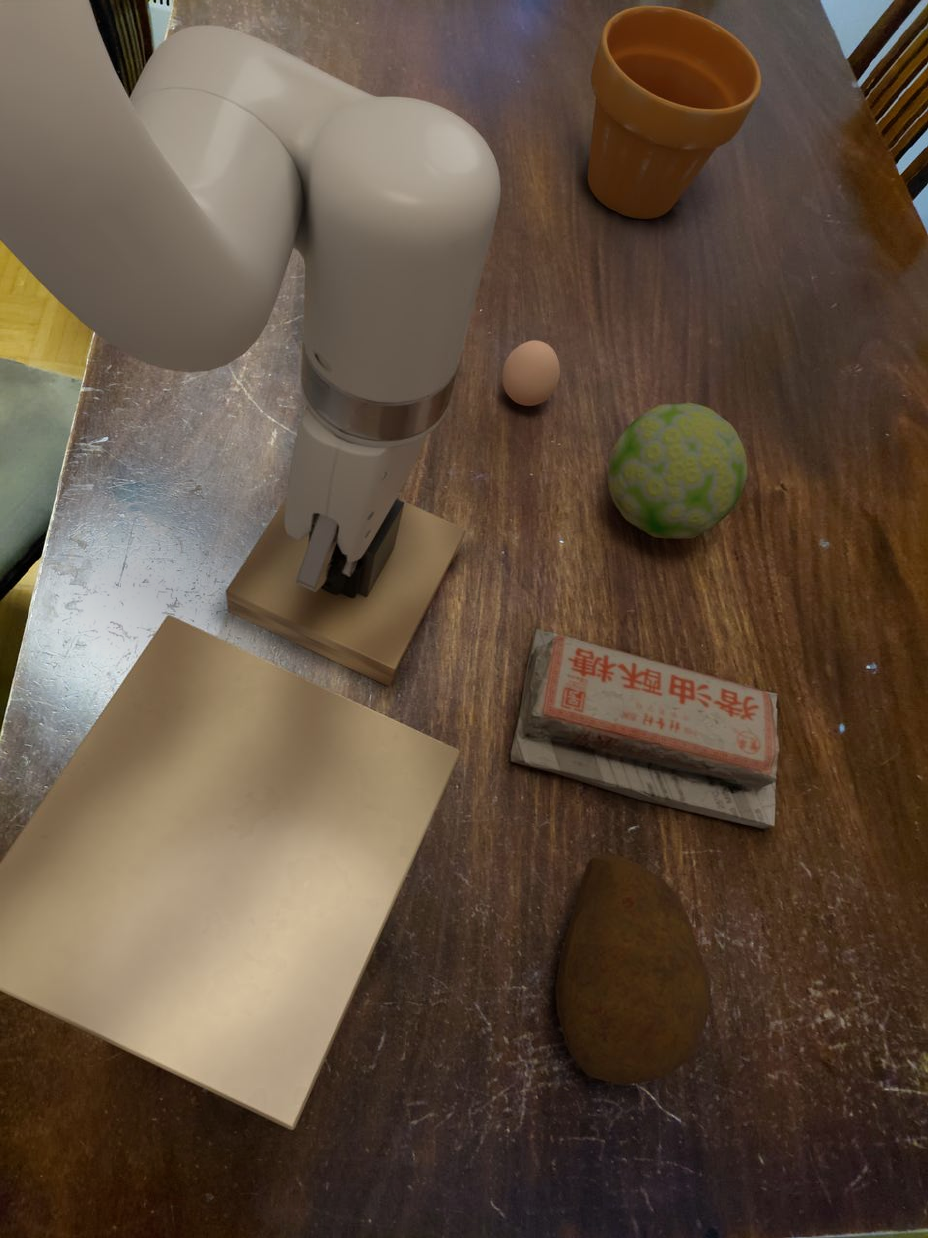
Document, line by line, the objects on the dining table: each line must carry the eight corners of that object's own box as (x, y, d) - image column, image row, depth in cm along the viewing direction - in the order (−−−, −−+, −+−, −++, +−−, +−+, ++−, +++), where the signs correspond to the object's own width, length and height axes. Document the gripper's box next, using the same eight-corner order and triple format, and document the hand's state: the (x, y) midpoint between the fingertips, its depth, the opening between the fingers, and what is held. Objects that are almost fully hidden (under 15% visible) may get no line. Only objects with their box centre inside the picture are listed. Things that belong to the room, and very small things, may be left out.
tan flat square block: (227, 611, 61) (225, 590, 59) (309, 482, 67) (311, 457, 64) (389, 687, 61) (395, 669, 58) (458, 551, 67) (466, 529, 64)
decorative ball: (704, 579, 70) (767, 507, 61) (580, 540, 69) (624, 461, 60) (718, 479, 74) (777, 398, 65) (601, 441, 74) (645, 355, 65)
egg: (496, 415, 73) (512, 366, 68) (495, 372, 75) (511, 321, 70) (550, 421, 74) (570, 373, 69) (548, 379, 76) (567, 329, 71)
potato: (696, 905, 58) (761, 878, 50) (661, 1109, 52) (728, 1114, 45) (571, 861, 58) (617, 827, 50) (523, 1061, 52) (565, 1057, 45)
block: (306, 570, 60) (309, 524, 55) (336, 520, 62) (341, 472, 58) (366, 598, 60) (375, 554, 55) (394, 547, 62) (404, 501, 57)
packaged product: (523, 742, 56) (548, 603, 60) (505, 766, 60) (530, 634, 65) (801, 815, 57) (805, 673, 62) (765, 834, 61) (771, 700, 66)
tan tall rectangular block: (115, 1025, 49) (-67, 959, 23) (219, 839, 55) (167, 612, 28) (283, 1106, 49) (293, 1131, 23) (371, 911, 54) (462, 750, 28)
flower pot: (590, 118, 92) (634, -18, 81) (717, 178, 92) (780, 50, 80) (537, 196, 86) (578, 60, 74) (674, 262, 85) (736, 135, 74)
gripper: (382, 235, 49) (355, 443, 65) (223, 458, 41) (237, 633, 57) (509, 292, 49) (451, 487, 65) (375, 528, 41) (346, 684, 57)
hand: (351, 554), depth 61 cm, fingers closed on block, 4 cm apart
